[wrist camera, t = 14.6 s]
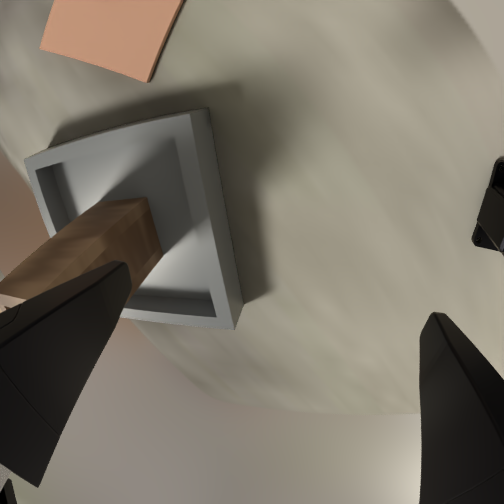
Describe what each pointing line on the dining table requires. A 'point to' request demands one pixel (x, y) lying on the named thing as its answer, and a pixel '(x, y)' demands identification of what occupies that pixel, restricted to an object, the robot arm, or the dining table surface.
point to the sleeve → (88, 250)
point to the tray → (154, 210)
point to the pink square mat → (111, 33)
